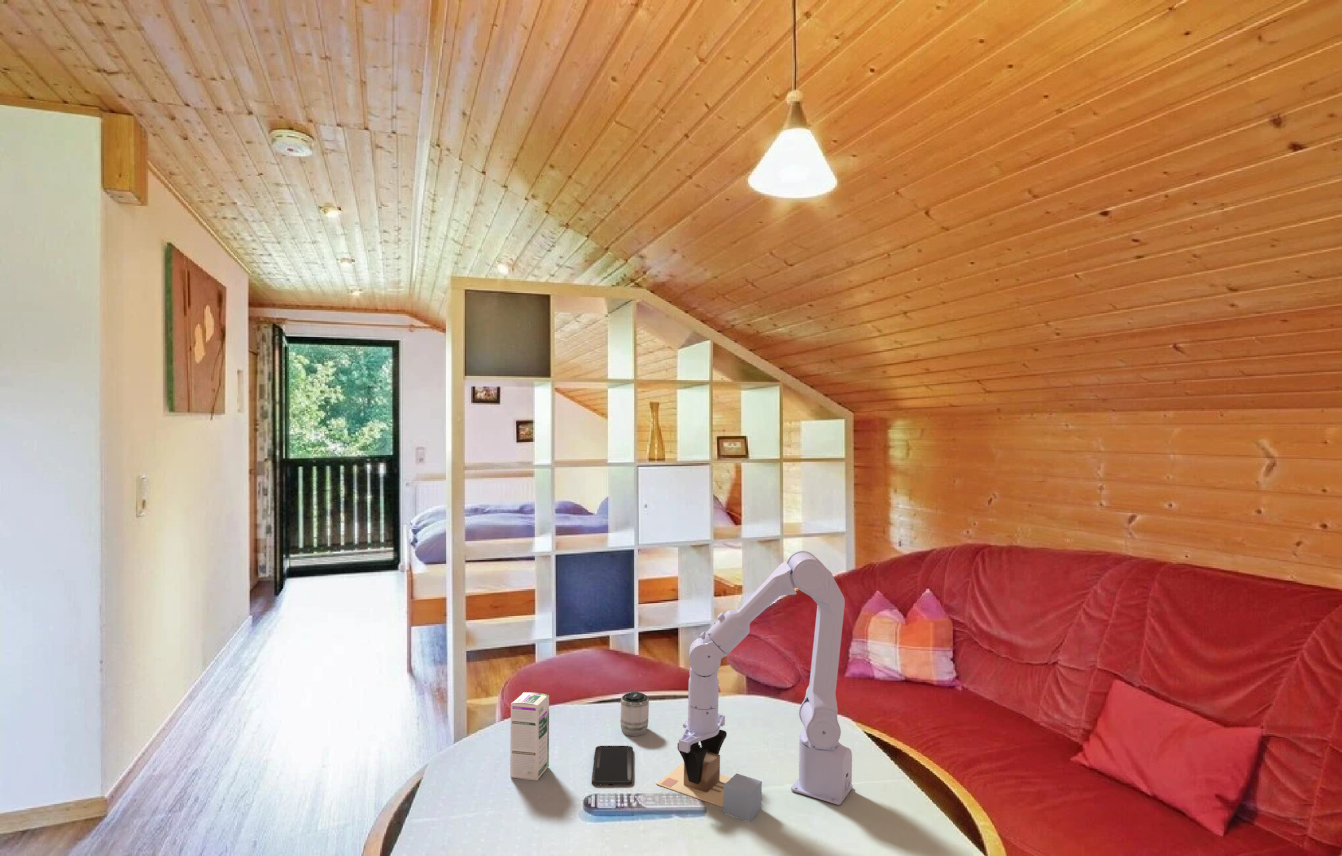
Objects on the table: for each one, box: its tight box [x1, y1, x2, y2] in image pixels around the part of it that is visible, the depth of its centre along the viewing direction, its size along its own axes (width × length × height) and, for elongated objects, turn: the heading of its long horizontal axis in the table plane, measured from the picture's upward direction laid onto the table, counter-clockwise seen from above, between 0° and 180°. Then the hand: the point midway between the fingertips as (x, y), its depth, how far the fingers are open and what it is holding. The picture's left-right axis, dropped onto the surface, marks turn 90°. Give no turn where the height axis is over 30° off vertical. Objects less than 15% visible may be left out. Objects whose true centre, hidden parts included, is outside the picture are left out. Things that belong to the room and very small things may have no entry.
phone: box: [591, 745, 634, 787], centre depth 136 cm, size 8×1×15 cm
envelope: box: [655, 762, 732, 808], centre depth 130 cm, size 14×10×1 cm
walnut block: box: [683, 751, 721, 792], centre depth 130 cm, size 5×5×5 cm
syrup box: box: [509, 691, 550, 782], centre depth 134 cm, size 6×6×14 cm
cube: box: [722, 773, 763, 823], centre depth 121 cm, size 5×5×5 cm
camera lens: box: [619, 691, 650, 737], centre depth 153 cm, size 6×6×8 cm
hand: (701, 775), depth 130 cm, fingers open, 5 cm apart
